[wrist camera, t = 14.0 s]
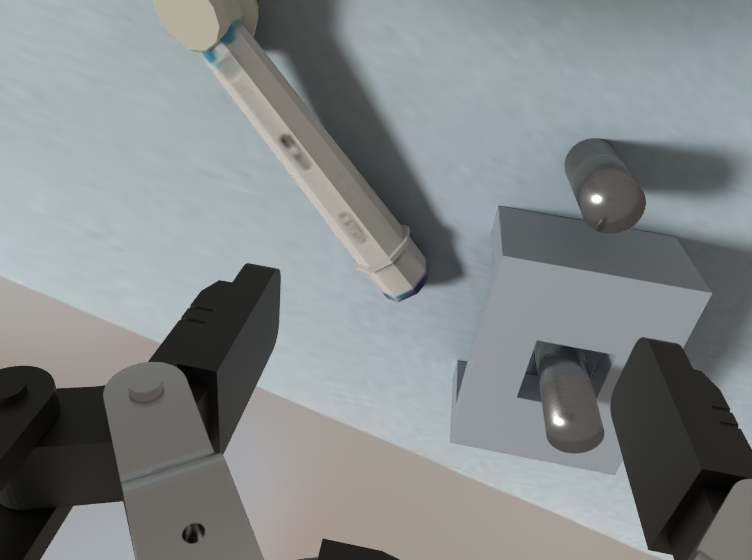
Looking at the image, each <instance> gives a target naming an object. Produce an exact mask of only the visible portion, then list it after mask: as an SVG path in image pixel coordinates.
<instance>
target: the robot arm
mask: <svg viewBox="0 0 752 560" xmlns="http://www.w3.org/2000/svg"><path fill="white" fill-rule="evenodd" d="M280 282H281V275H280V270H279V269H276V268H271V267H265V266H260V265H255V264H249V263H246V264H245V265H244V266H243V268H242V269H241V271H240V272H239V274H238V275H237V277H236V278H235V280H234V281H233V282H226V281H221V280H219V281H217V282H216V283H214V284H212V285H211V286H209V287H207V288H206V289H204V290H202V291H201V292H200V293H199V295H198V296H197V297H196V299H195V300H194V301H193V303H192V304H191V305H190V308H188V309H187V311H186V312H185V313H184V315H183V316H182V318H181V320H179V321H178V323H177V324H176V325H175V327H174V328H173V329H172V331H171V332H170V333H169V335H168V336H167V337H166V339H165V340H164V341H163V343H162V344H161V345H160V347H159V348H158V349H157V351H156V352H155V353H154V355H153V356H152V357H151V359H150V360H149V361H148V362H145V363H139V364H136V365H132V366H130V367H127V368H125V369H123V370H121V371H120V372H118V373H117V374H115V375H114V376H113V377H112V378H111V379H110V380H109V381H108V383H107V384H106V385H105V386H97V387H81V388H80V387H79V388H58V389H56V386H55V383H54V380H53V378H52V376H51V375H50V374H49V373H48V372H47V371H45V370H43V369H41V368H38V367H33V366H14V367H8V368H3V369H0V560H40V559H41V557H42V556H43V554H44V552H45V551H46V549H47V548H48V546H49V544H50V543H51V541H52V540H53V538H54V536H55V535H56V533H57V531H58V530H59V528H60V526H61V525H62V523H63V522H64V520H65V518H66V517H67V515H68V514H69V512H70V510H71V509H72V507H73V506H76V505H87V504H97V503H107V502H119V501H123V502H124V507H125V512H126V516H127V521H128V526H129V531H130V536H131V541H132V546H133V551H134V555H135V560H264V558H263V556H262V553H261V550H260V548H259V545H258V543H257V540H256V537H255V535H254V532H253V530H252V527H251V525H250V522H249V519H248V517H247V514H246V512H245V509H244V507H243V504H242V502H241V499H240V496H239V494H238V491H237V489H236V486H235V484H234V481H233V478H232V476H231V473H230V471H229V468H228V466H227V463H226V461H225V458H224V456H223V454H224V451H225V450H226V447H227V445H228V443H229V441H230V439H231V437H232V435H233V433H234V431H235V429H236V426H237V424H238V422H239V420H240V418H241V416H242V413H243V412H244V410H245V407H246V406H247V403H248V401H249V399H250V397H251V395H252V393H253V391H254V388H255V387H256V385H257V382H258V380H259V378H260V376H261V374H262V372H263V370H264V368H265V366H266V364H267V361H268V359H269V357H270V355H271V353H272V351H273V349H274V346H275V343H276V339H277V334H278V328H279V310H280ZM610 412H611V418H612V421H613V425H614V429H615V432H616V436H617V439H618V443H619V446H620V450H621V454H622V457H623V461H624V464H625V468H626V472H627V475H628V479H629V482H630V486H631V489H632V493H633V497H634V500H635V504H636V507H637V511H638V514H639V518H640V522H641V525H642V529H643V532H644V536H645V539H646V543H647V547H648V550H651V551H656V552H661V553H666V554H671V555H673V557H674V560H752V449H751V447H750V446H749V444H748V442H747V440H746V438H745V436H744V434H743V432H742V430H741V429H738V423H737V421H736V419H735V417H734V415H733V414H732V413H730V408H729V406H728V404H727V402H726V400H725V398H724V397H723V395H722V393H721V391H720V389H719V388H718V387H717V386H716V385H715V384H713V383H712V382H711V381H710V380H709V379H708V378H707V377H706V376H705V375H704V374H703V373H702V372H701V371H697V370H693V368H692V366H691V364H690V362H689V360H688V358H687V356H686V354H685V352H684V350H683V348H682V346H681V345H680V344H678V343H672V342H667V341H662V340H656V339H651V338H645V337H642V338H640V339H639V340H638V341H637V342H636V343H635V345H634V347H633V349H632V351H631V354H630V356H629V358H628V360H627V362H626V364H625V366H624V368H623V370H622V372H621V374H620V377H619V379H618V381H617V383H616V385H615V387H614V390H613V393H612V397H611V404H610ZM299 560H399V559H397V558H395V557H393V556H391V555H389V554H387V553H385V552H383V551H379V550H374V549H369V548H365V547H360V546H355V545H351V544H346V543H341V542H336V541H332V540H327V539H323V540H322V544H321V548H320V552H319V556H318V557H316V558H305V559H299Z"/></svg>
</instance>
